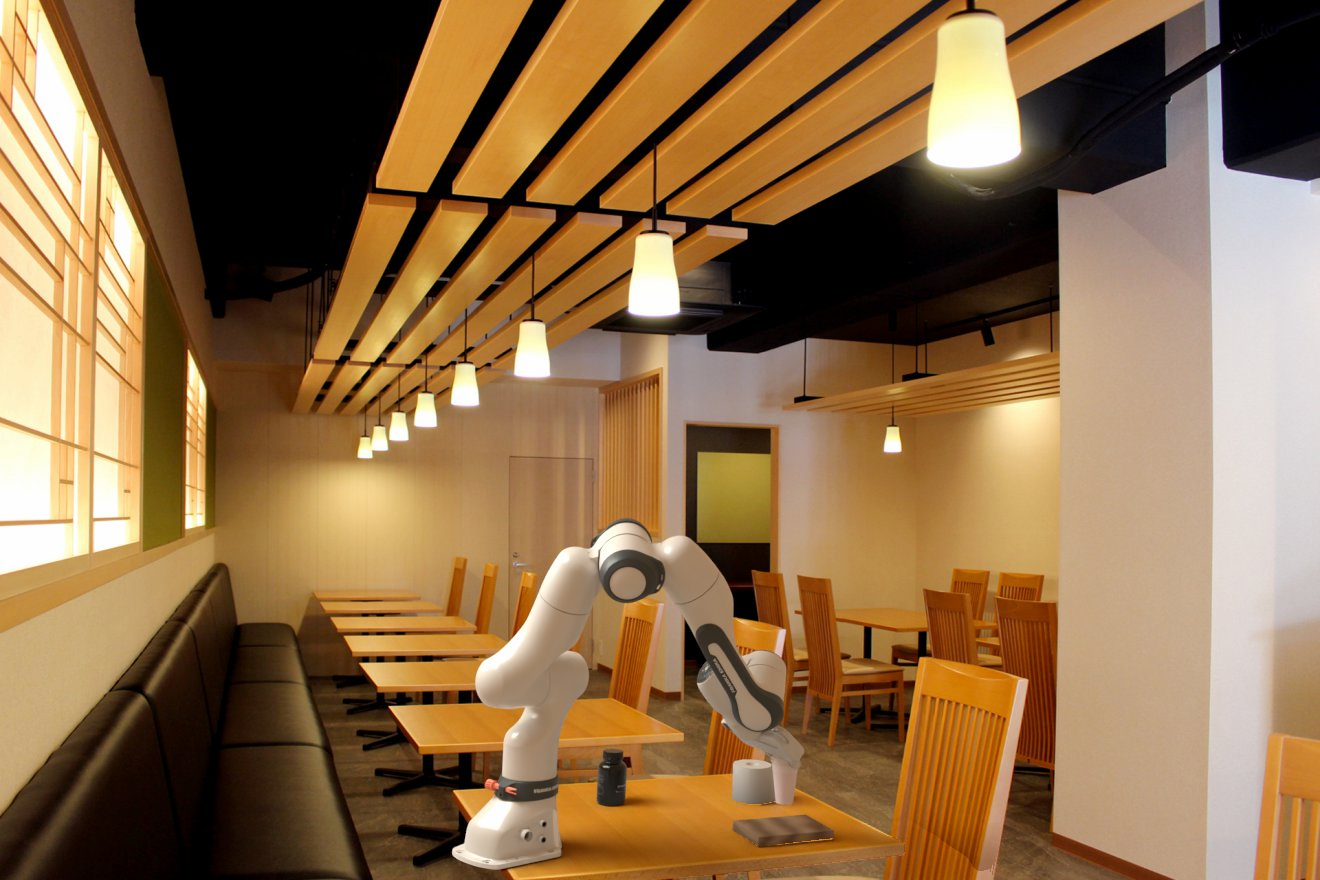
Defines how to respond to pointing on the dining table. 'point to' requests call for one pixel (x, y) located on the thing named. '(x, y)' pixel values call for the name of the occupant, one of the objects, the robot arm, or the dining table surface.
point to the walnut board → (782, 830)
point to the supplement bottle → (611, 778)
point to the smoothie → (783, 780)
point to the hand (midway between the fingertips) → (787, 762)
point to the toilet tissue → (753, 782)
